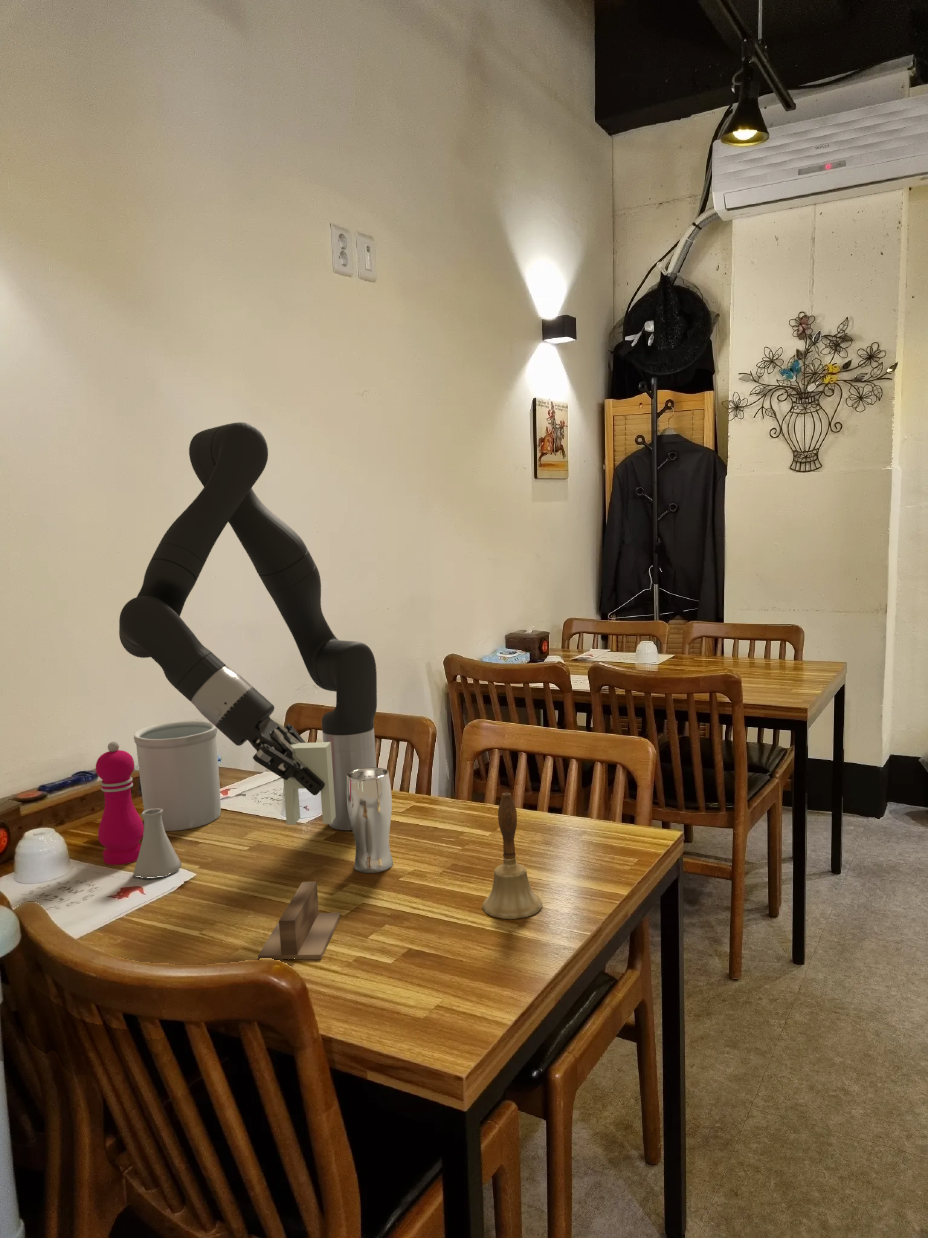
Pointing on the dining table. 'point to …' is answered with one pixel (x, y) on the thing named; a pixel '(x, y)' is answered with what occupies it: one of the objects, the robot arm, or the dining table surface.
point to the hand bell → (510, 873)
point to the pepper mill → (118, 808)
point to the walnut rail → (301, 928)
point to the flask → (155, 848)
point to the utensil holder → (180, 772)
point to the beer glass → (370, 818)
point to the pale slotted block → (321, 765)
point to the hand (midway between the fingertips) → (323, 786)
